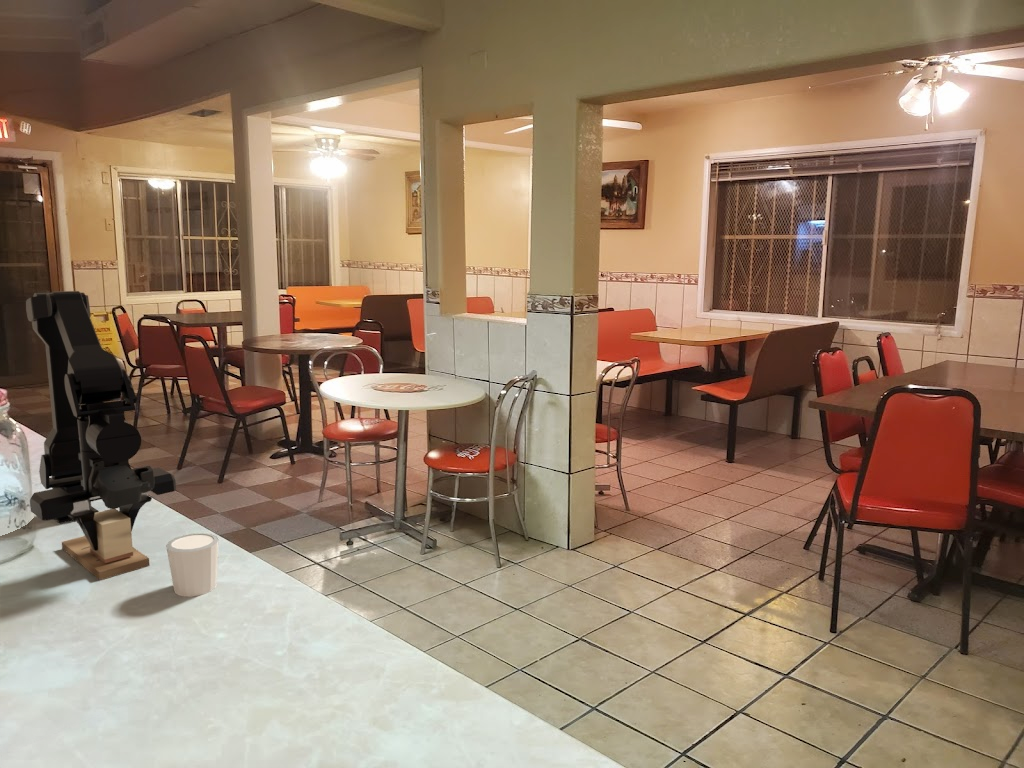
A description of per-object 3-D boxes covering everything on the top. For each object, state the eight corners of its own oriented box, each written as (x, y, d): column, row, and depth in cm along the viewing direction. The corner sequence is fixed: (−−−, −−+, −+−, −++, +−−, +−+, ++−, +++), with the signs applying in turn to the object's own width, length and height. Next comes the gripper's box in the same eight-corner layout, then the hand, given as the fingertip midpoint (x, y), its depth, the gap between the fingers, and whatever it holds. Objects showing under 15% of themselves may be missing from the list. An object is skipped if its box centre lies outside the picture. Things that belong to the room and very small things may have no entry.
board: (62, 548, 119) (61, 541, 119) (109, 536, 124) (108, 529, 124) (100, 580, 109) (99, 572, 109) (149, 565, 114) (149, 558, 114)
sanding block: (90, 551, 115) (86, 514, 114) (117, 544, 118) (114, 508, 117) (105, 563, 111) (101, 525, 110) (133, 555, 114) (130, 518, 113)
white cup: (209, 599, 104) (206, 551, 102) (160, 598, 104) (156, 550, 103) (228, 577, 110) (226, 532, 109) (182, 576, 111) (179, 531, 109)
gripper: (49, 471, 99) (60, 581, 102) (188, 445, 113) (195, 543, 116) (23, 455, 107) (34, 558, 109) (157, 432, 120) (163, 524, 123)
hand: (110, 545), depth 114 cm, fingers closed on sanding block, 4 cm apart
